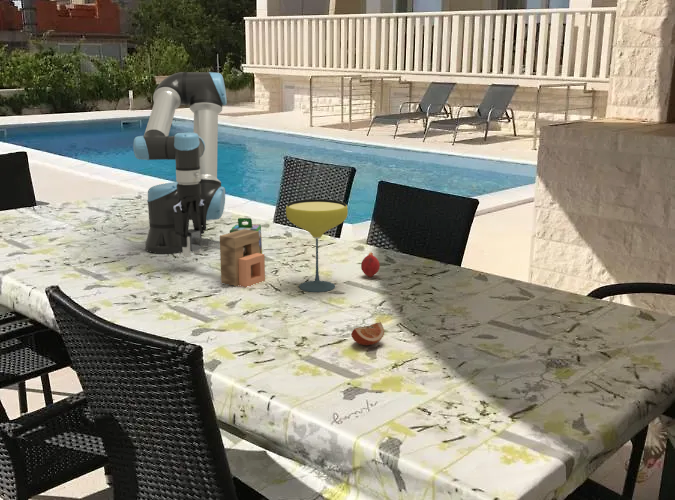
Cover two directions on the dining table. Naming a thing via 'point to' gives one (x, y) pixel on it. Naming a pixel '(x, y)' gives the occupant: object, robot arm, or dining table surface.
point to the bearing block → (236, 253)
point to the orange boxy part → (245, 269)
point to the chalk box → (249, 227)
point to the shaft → (203, 241)
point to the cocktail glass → (316, 228)
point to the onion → (370, 265)
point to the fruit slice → (368, 334)
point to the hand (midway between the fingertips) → (192, 254)
